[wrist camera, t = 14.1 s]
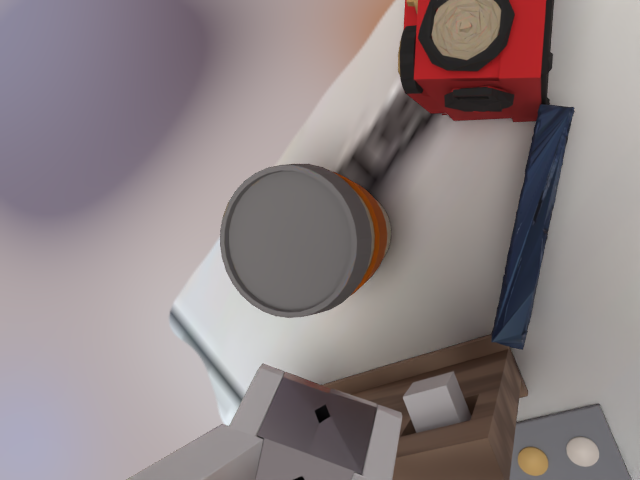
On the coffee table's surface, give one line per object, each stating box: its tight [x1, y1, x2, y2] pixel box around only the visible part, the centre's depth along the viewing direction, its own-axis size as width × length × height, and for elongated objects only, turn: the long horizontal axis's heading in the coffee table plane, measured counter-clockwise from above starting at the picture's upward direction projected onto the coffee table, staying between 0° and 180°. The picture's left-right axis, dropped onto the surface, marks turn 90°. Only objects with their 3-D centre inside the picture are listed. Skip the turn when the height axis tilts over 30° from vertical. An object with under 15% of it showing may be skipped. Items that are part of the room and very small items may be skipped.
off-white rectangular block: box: [403, 371, 472, 433], centre depth 36 cm, size 7×4×4 cm, turn 23°
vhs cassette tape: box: [491, 104, 575, 350], centre depth 43 cm, size 18×3×10 cm, turn 170°
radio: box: [398, 0, 554, 122], centre depth 39 cm, size 16×10×20 cm, turn 178°
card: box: [509, 404, 631, 480], centre depth 47 cm, size 7×10×1 cm
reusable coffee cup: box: [220, 164, 391, 318], centre depth 48 cm, size 13×13×15 cm
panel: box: [322, 334, 528, 480], centre depth 43 cm, size 6×23×21 cm, turn 113°
